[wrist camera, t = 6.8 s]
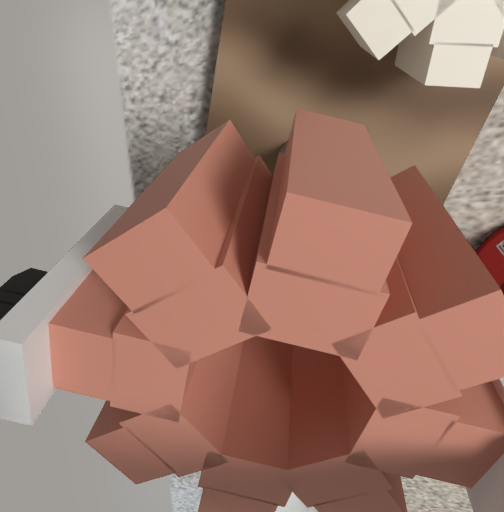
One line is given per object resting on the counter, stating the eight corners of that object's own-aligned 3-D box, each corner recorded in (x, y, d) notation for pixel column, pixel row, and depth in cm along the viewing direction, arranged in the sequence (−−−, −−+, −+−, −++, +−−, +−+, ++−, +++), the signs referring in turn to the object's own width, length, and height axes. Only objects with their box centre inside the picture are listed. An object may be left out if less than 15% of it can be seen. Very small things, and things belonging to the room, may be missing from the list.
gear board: (273, -279, 18) (256, -408, 12) (626, -189, 18) (767, -275, 12) (198, 208, 30) (173, 252, 25) (405, 259, 31) (426, 314, 25)
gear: (160, 74, 13) (33, 129, 7) (498, 158, 13) (662, 284, 7) (139, 330, 19) (59, 480, 13) (373, 386, 19) (403, 562, 13)
